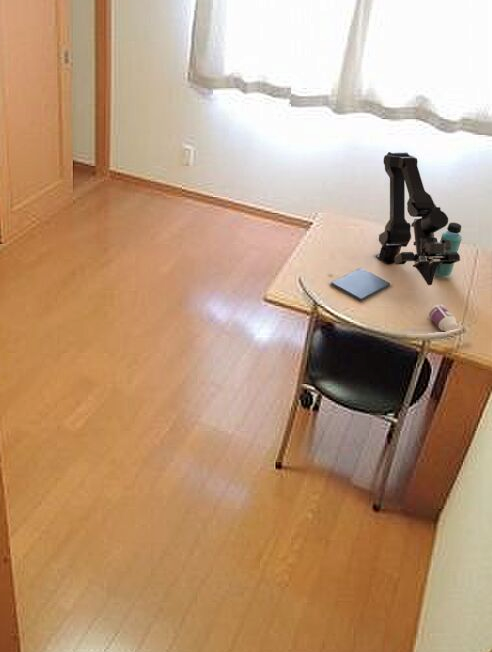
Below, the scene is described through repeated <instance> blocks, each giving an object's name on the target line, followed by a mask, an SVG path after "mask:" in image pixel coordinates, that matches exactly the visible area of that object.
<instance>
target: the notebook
mask: <svg viewBox="0 0 492 652" xmlns="http://www.w3.org/2000/svg"><path fill="white" fill-rule="evenodd" d="M330 286H331V287H333V288H335V289H337V290H339V291H341V292H342V293H344V294H346V295H348V296H349V297H351V298H352V299H355V300H357V301H359V302H363V301H364V300H366V299H368V298H370V297H372V296H374V295H376V294H377V293H379V292H382V291H383V290H385V289H387V288H389V287H390V286H391V282H389V281H387V280H385V279H383V278H382V277H380V276H378V275H376V274H374V273H372V272H370V271H368V270H366V269H364V268H362V267H359V268H357V269H355V270H353V271H351V272H349V273H347V274H345V275H343V276H341V277H339V278H337V279H335V280H333V281H331V282H330Z"/></svg>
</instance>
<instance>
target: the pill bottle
mask: <svg viewBox="0 0 492 652" xmlns="http://www.w3.org/2000/svg"><path fill="white" fill-rule="evenodd" d="M428 317H429V318H430V319H431V320H432V321H433V322H434V324H435V325H436V326H437V327H438V329H439V330H441V331H442V332H445V331H449V330H454V329H458V330H459V325H458V323H457V319H456V317H454V316H453V314H452V313H451V312H450V311H449V310H448V309H447V308H446V306H444V305H443V304H435V305H433V306H432V307H431V308H430V309H429V311H428Z"/></svg>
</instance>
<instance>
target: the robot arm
mask: <svg viewBox="0 0 492 652" xmlns="http://www.w3.org/2000/svg"><path fill="white" fill-rule="evenodd" d="M383 156H384V157H383V165H384V171H385V173H386V174H387V176H388V178H389V220H388V221H387V223H386V225H385V226H384V230H383V232H382V233H380V234H378V242H379V243H380V245H381V248H380V251H379V253H378V254H375V257H376V258H377V259H379V260H380V261H382V262H384V263H385V264H387V265H392V264H395V265H405V264H406V263H407V262H413V263H414V264H413V265H412V267H413V268H416V270H417V271H418V273H419V274H421V277H422V278H423V280H424V281H425V284H427V286H432V285H433V282H434V278H435V275H436V274H435V271H436V269H437V267H438V265H440V264H453V263H454V264H455V263H456V264H457V263H459V262H460V261H461V255H460V254H459V252H446V253H445V250H450V249H451V242H450V240H442V242H440V241H438V238H437V237H435V233H436V232H438V231H440V230H442V229H443V228H445V227H446V226H448V225H449V217H448V215H447V214H446V213H445V212H444V211H442V210H441V209H442V208H441V207H440V206H437V205H436V203H435V202H434V199H433V197H432V195H431V194H430V193H428V192H427V191H426V189H425V187H424V183H423V180H422V177H421V173H420V170H419V166H418V158H417V157H415V156H414V155H411V154H409V153H408V152H407V151H388V152H387V153H386V154H385V155H383ZM405 187H406V188H405ZM406 189H407V190H406ZM405 190H406V191H407V193H408V199H407V202H406V200H405V199H406V198H405V197H406V195H405V193H406V191H405ZM405 202H406V204H405ZM405 205H406V206H407V207H406V206H405ZM405 207H406V208H405ZM406 209H407V213H408V215H409V216H410V217H412V218H414V219H413V222H411V223H410V222H408V221H407V220H406V217H405V215H406V214H405V213H406ZM411 228H413V233H414V234H413V235H414V241H413V246H415V251H416V252H415V253H414V252H413V251H402V252H401V249H402V248H407V247H408V244H409V243H410V241H411V239H412V233H411ZM440 253H441V254H442V255H436V254H440Z"/></svg>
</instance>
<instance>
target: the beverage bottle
mask: <svg viewBox="0 0 492 652" xmlns="http://www.w3.org/2000/svg"><path fill="white" fill-rule="evenodd" d="M446 230H447V231H444V232H442V233H441V237H440V240H439V242H442V240H450V242H451V249H450V250H445V253H446V252H457V253H459V250H460V249H459V248H460V245H461V242H462V240H463V237H462V236H461V234H460V233H461V231H462V225H461V224H460V223H457V222H450V223H449V222H448V224H447V227H446ZM436 255H442V254H441V253H440V254H436ZM454 265H455V263H453V264H440V265H438V267H437V269H436V271H435V275H436V276H439V277H449V276H450V275H451V274H452V272H453V269H454Z"/></svg>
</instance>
